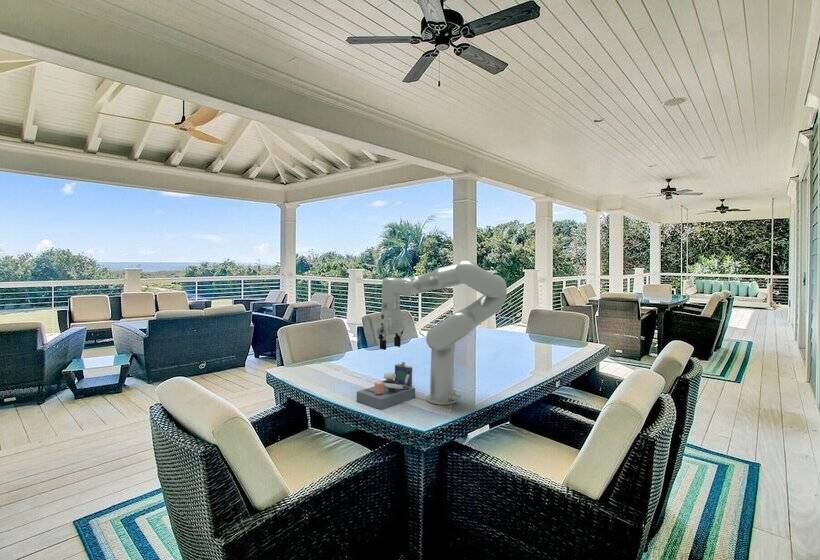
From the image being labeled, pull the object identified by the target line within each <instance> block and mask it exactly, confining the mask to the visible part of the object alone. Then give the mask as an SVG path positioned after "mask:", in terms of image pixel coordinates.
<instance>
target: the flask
mask: <svg viewBox="0 0 820 560" xmlns="http://www.w3.org/2000/svg"><path fill="white" fill-rule="evenodd" d="M408 369H411V371H412V373H411V374H410V375H409V378H408V382H407V385H406V386H409V387H413V366H410V365H406V362H405V361H402V362H400V363H397V364H395V365H394V373H395V374H396V378H395V379H393V380H395V381H399V384H402V385H404V382H405V378H406V375H407V372H406V371H407V370H408Z"/></svg>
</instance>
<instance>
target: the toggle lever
mask: <svg viewBox="0 0 820 560" xmlns="http://www.w3.org/2000/svg"><path fill="white" fill-rule="evenodd" d="M406 372H407V375H406V378H405V382H404V387H406V385H407V382H408V378H409V375H410V374H411V373H412V374H413V370H412V371H411V369H408V370H407V371H406Z"/></svg>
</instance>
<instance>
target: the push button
mask: <svg viewBox="0 0 820 560" xmlns="http://www.w3.org/2000/svg"><path fill="white" fill-rule="evenodd" d="M383 378H384V379H385V380H386V381H387V382H393V380H394V379H395V378H396V374H395V372H386V373H384V374H383Z"/></svg>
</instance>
